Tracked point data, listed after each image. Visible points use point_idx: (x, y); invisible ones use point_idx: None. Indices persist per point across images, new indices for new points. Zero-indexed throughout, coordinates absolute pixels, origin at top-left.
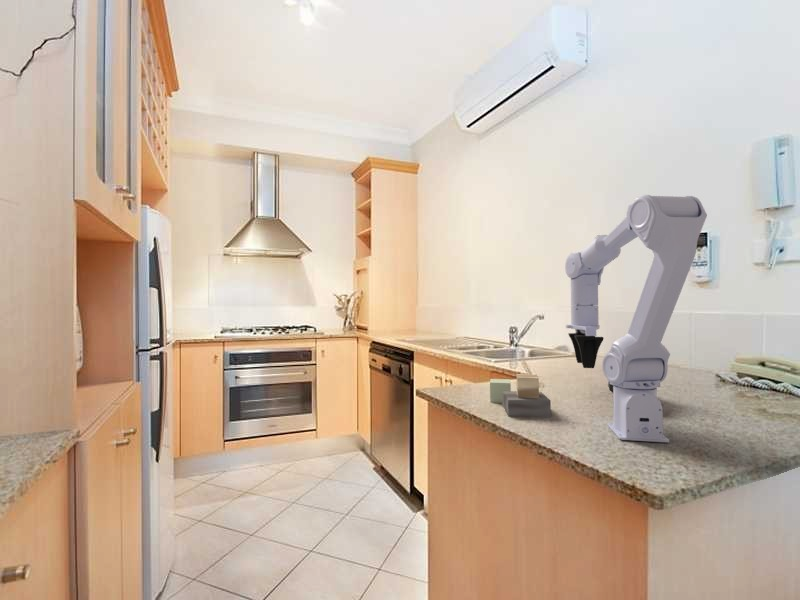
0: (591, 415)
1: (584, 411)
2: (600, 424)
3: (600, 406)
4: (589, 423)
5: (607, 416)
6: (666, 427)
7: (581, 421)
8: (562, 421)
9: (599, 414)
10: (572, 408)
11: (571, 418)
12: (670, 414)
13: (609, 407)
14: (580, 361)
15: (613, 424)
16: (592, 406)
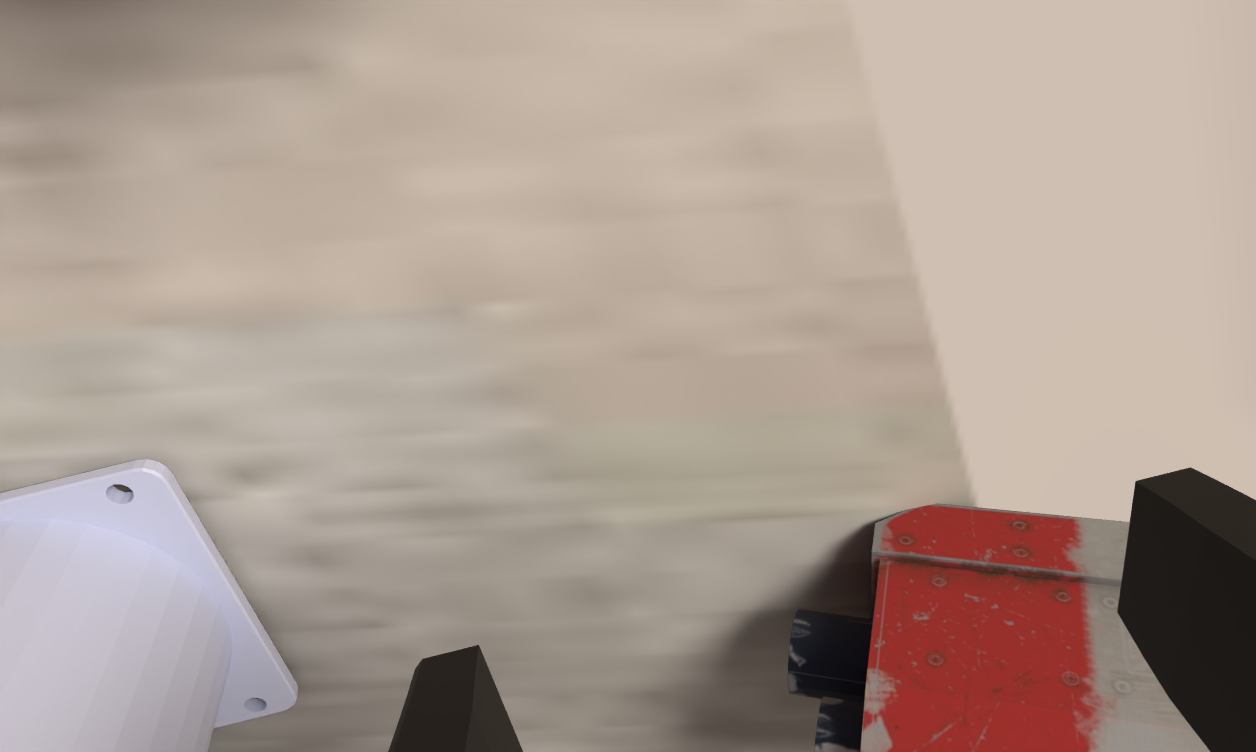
0: (486, 301)
1: (633, 226)
2: (168, 396)
3: (906, 349)
4: (136, 309)
5: (517, 426)
6: (384, 747)
7: (165, 232)
8: (11, 33)
9: (564, 363)
10: (729, 91)
11: (231, 122)
12: (774, 748)
13: (884, 419)
14: (1150, 543)
15: (119, 510)
16: (887, 282)
